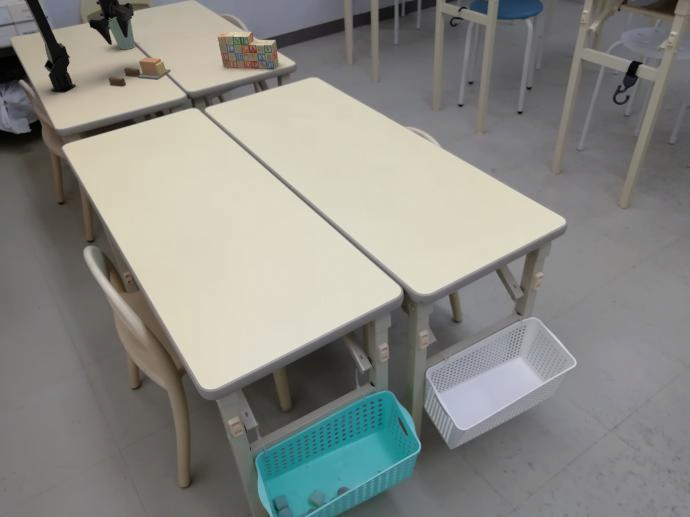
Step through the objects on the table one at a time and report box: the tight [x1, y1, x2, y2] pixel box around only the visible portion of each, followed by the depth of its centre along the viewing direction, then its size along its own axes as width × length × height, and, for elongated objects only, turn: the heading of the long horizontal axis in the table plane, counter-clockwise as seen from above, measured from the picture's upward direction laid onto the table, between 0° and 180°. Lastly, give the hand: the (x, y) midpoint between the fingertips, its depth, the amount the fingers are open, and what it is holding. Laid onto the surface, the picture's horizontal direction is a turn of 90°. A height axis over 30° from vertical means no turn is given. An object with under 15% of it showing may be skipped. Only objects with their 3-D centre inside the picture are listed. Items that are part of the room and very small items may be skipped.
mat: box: [137, 68, 172, 81], centre depth 209 cm, size 9×9×1 cm
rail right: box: [123, 67, 142, 78], centre depth 209 cm, size 2×6×2 cm, turn 72°
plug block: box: [138, 57, 166, 76], centre depth 207 cm, size 4×8×5 cm, turn 71°
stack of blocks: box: [217, 31, 280, 70], centre depth 208 cm, size 21×6×12 cm, turn 78°
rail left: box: [108, 76, 127, 87], centre depth 202 cm, size 2×6×2 cm, turn 72°
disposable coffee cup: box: [109, 18, 136, 50], centre depth 232 cm, size 11×11×15 cm
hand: (118, 41), depth 206 cm, fingers open, 9 cm apart
